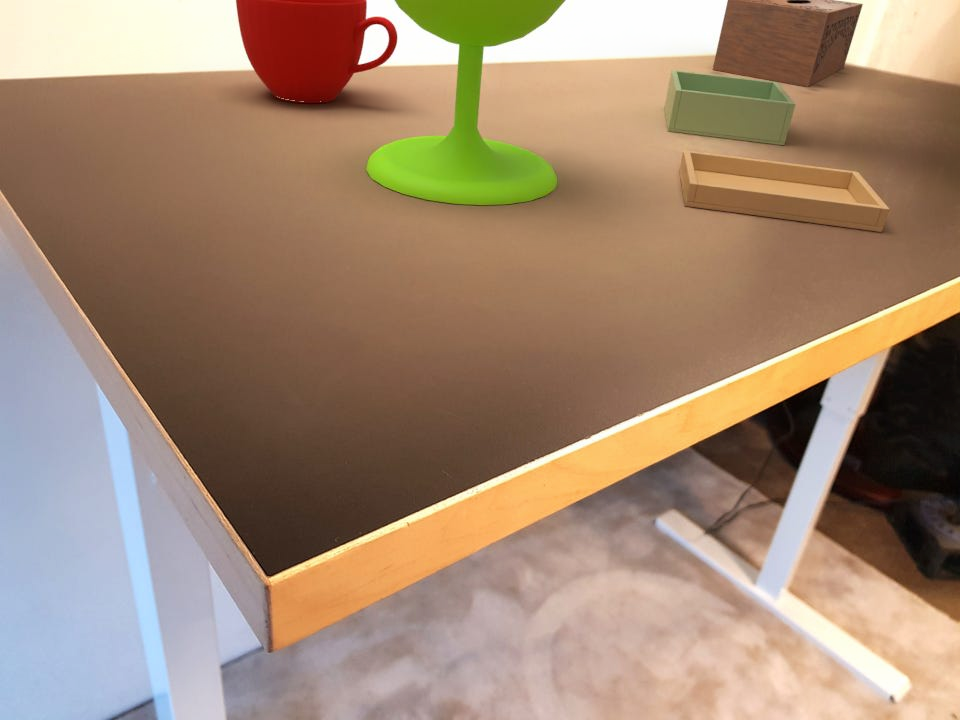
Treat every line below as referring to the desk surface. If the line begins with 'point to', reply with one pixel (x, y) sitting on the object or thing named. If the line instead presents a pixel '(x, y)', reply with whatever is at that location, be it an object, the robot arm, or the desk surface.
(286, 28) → the ceramic cup
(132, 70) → the desk surface
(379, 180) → the wineglass
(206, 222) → the desk surface
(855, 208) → the tray
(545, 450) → the desk surface
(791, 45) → the tissue box cover
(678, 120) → the bin
